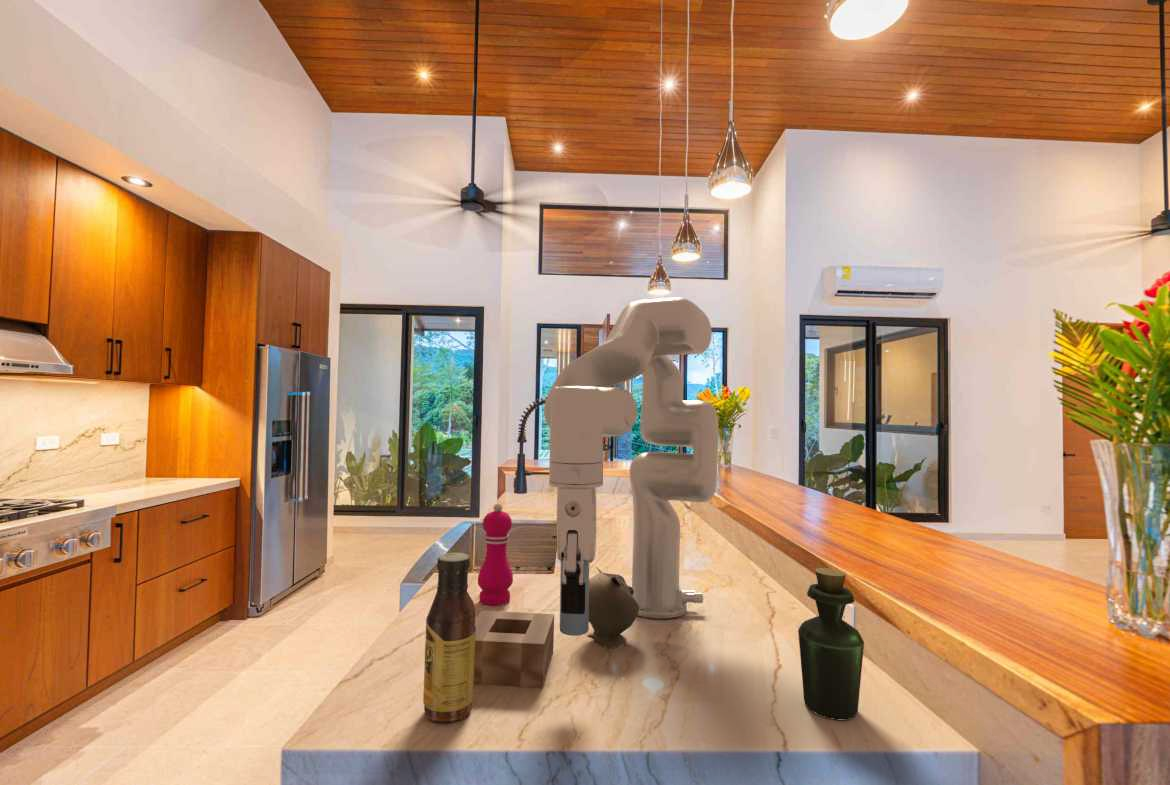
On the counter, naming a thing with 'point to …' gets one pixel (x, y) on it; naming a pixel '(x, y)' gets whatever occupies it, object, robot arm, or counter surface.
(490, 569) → the pepper mill
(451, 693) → the sauce bottle
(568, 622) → the peg
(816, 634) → the potion bottle
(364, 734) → the counter surface
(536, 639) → the socket block
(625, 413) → the robot arm
